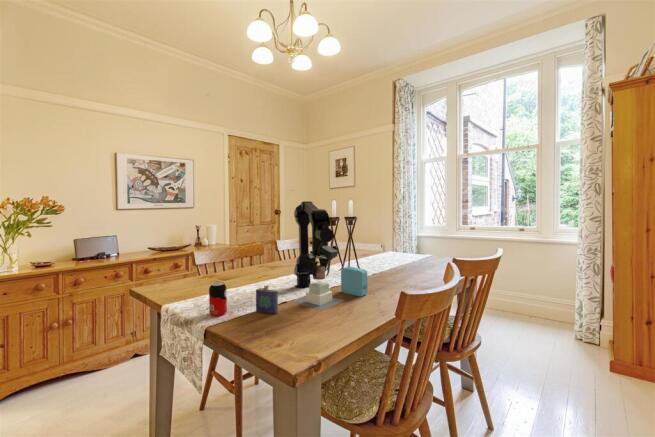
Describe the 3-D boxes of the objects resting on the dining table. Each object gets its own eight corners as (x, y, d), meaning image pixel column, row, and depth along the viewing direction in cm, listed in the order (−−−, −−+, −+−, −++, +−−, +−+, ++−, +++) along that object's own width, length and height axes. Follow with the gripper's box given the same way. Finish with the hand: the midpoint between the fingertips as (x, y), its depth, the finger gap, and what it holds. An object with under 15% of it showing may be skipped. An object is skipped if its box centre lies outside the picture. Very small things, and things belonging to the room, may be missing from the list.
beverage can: (217, 318, 113) (216, 286, 112) (206, 315, 116) (205, 284, 116) (230, 313, 119) (229, 282, 118) (219, 310, 122) (218, 280, 121)
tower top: (309, 292, 130) (309, 284, 130) (318, 289, 135) (318, 281, 135) (319, 295, 127) (319, 286, 126) (328, 291, 131) (328, 283, 131)
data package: (367, 295, 140) (367, 269, 140) (362, 297, 137) (362, 271, 136) (346, 290, 148) (346, 266, 147) (340, 292, 145) (340, 267, 144)
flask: (279, 312, 119) (278, 285, 119) (275, 314, 116) (275, 287, 116) (257, 310, 122) (257, 283, 121) (254, 312, 119) (253, 285, 118)
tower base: (305, 301, 130) (305, 292, 130) (318, 297, 137) (318, 288, 136) (320, 305, 125) (320, 296, 125) (332, 300, 132) (332, 291, 131)
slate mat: (292, 303, 130) (292, 302, 130) (317, 294, 142) (317, 293, 142) (321, 311, 120) (321, 310, 120) (345, 301, 132) (345, 300, 132)
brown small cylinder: (310, 278, 130) (310, 266, 130) (318, 275, 134) (318, 264, 134) (319, 280, 127) (319, 268, 127) (327, 277, 131) (327, 266, 131)
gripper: (318, 243, 117) (318, 283, 118) (347, 238, 132) (347, 274, 132) (298, 241, 124) (298, 278, 125) (327, 236, 139) (327, 270, 140)
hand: (318, 275), depth 130 cm, fingers closed on brown small cylinder, 5 cm apart
